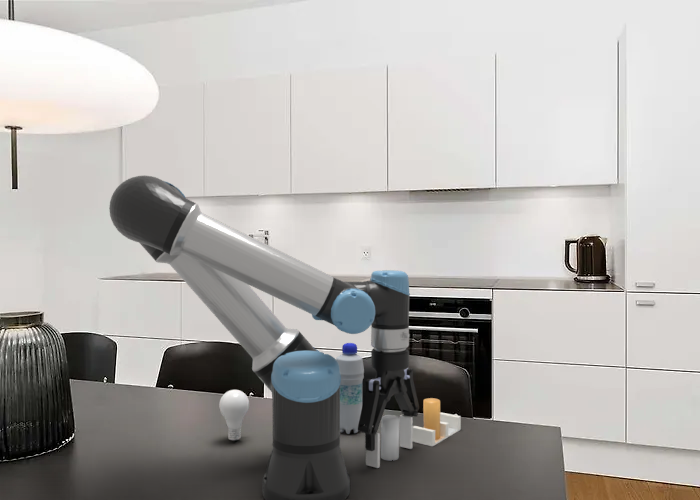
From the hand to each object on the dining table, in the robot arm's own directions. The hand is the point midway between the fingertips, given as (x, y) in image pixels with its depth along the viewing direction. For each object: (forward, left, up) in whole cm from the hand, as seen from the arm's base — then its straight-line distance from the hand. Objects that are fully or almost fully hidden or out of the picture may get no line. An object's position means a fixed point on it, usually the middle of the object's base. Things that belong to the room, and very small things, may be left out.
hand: (390, 456), depth 121 cm
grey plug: (0, 0, 0) cm, 0 cm away
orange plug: (+14, -2, 0) cm, 14 cm away
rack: (+17, -1, 0) cm, 17 cm away
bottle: (+8, +16, 0) cm, 18 cm away
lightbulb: (-12, +32, 0) cm, 34 cm away
